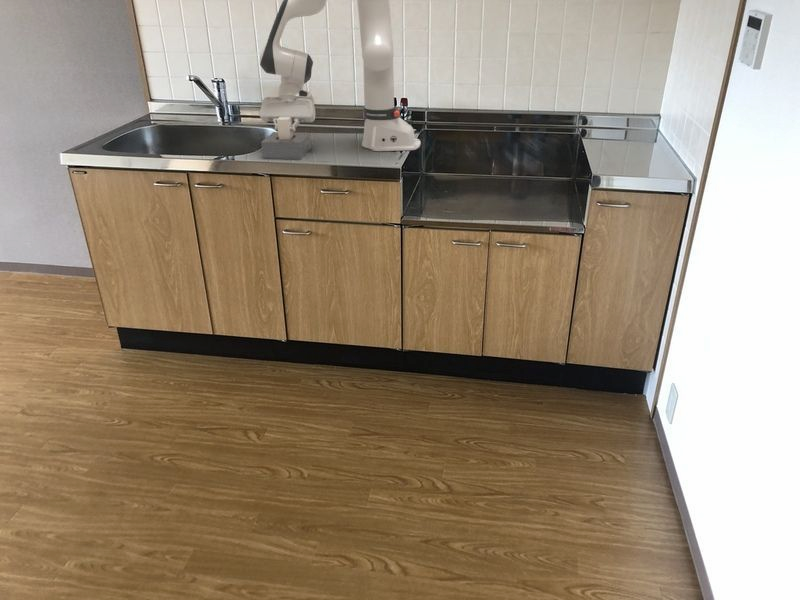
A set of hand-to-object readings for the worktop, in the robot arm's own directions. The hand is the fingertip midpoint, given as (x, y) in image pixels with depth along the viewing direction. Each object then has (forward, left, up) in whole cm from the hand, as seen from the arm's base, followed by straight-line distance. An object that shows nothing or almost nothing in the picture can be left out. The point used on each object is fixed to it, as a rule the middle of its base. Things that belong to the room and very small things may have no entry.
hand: (284, 130), depth 242 cm
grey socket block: (0, -1, -9) cm, 9 cm away
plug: (0, -1, -7) cm, 7 cm away
